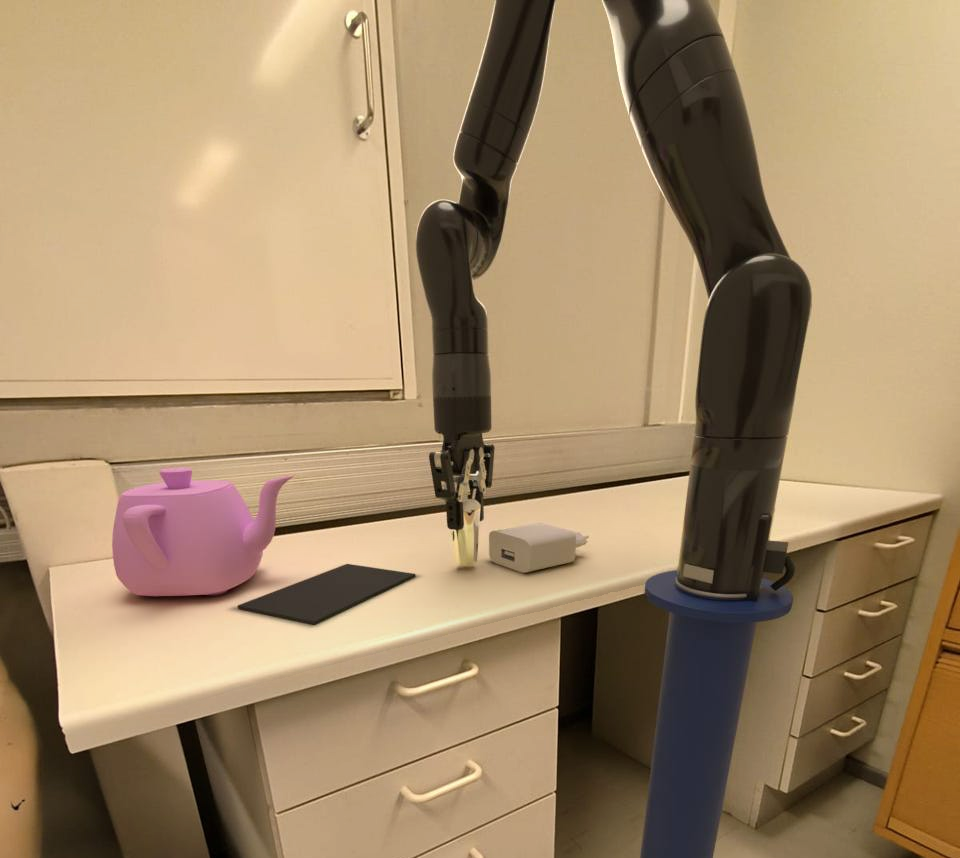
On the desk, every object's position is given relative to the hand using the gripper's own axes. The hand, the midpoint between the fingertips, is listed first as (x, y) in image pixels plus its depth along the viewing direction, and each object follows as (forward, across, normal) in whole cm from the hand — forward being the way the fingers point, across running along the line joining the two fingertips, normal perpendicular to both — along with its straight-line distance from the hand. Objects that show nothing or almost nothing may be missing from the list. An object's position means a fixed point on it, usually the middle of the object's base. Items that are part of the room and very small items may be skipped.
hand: (466, 524), depth 82 cm
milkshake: (+6, 0, 0) cm, 6 cm away
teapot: (+6, -22, +28) cm, 36 cm away
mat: (+6, -17, +10) cm, 21 cm away
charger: (+7, +9, -9) cm, 14 cm away
